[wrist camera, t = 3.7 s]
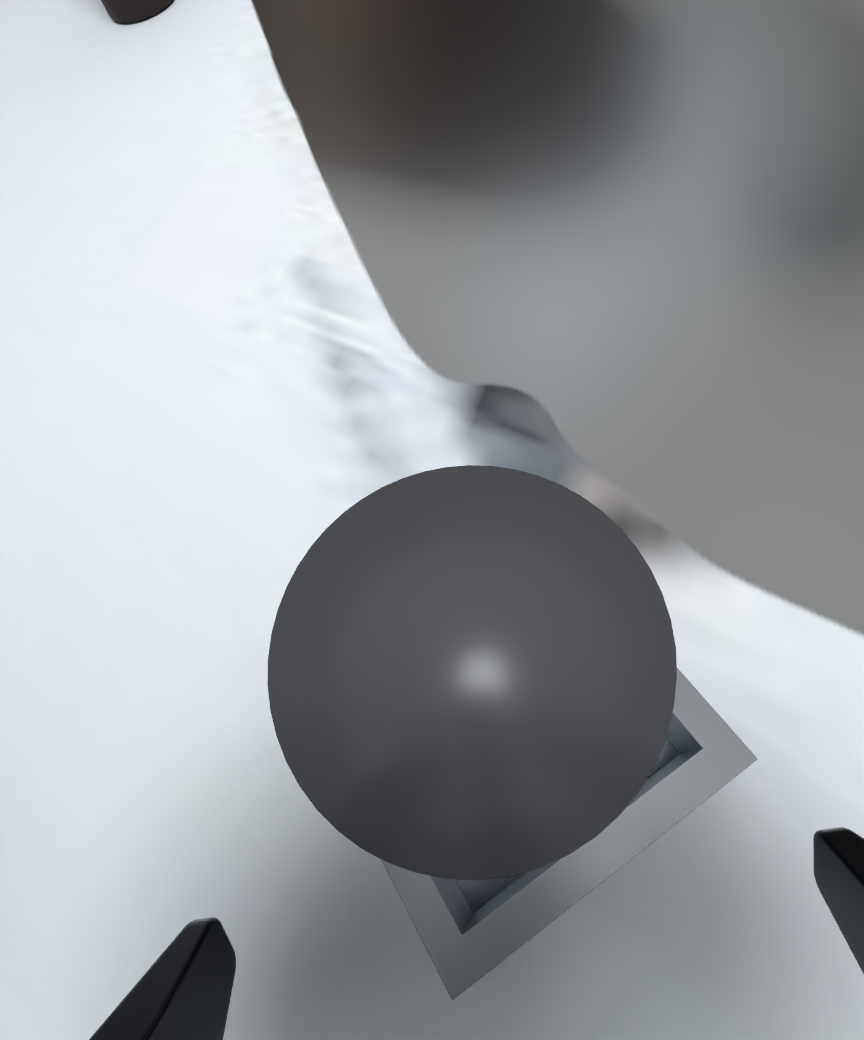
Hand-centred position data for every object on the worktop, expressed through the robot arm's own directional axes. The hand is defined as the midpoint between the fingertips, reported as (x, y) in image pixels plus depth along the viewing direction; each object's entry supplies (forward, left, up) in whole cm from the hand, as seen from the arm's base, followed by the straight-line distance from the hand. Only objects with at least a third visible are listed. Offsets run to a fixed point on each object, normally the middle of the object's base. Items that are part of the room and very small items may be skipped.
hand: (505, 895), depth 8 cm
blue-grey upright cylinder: (+2, +3, -11) cm, 12 cm away
